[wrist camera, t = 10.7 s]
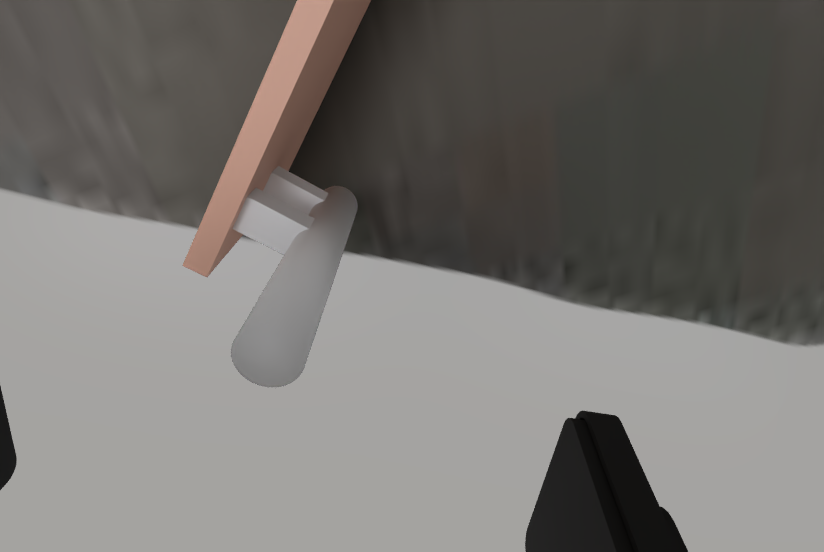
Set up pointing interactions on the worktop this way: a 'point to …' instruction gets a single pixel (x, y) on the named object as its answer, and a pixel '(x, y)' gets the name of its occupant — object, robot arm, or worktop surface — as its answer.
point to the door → (284, 196)
